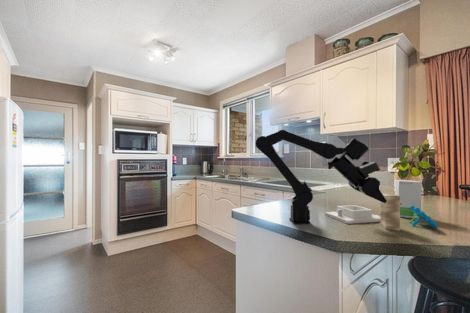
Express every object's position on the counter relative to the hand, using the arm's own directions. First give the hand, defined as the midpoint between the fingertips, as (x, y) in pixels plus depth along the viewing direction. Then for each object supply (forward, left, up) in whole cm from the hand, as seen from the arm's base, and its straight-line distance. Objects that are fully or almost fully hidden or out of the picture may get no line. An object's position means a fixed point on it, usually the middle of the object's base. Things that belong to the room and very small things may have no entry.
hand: (380, 199), depth 83 cm
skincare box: (+23, +14, -10) cm, 29 cm away
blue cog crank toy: (+17, 0, -10) cm, 20 cm away
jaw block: (+3, -1, -10) cm, 11 cm away
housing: (-2, +13, -10) cm, 17 cm away
